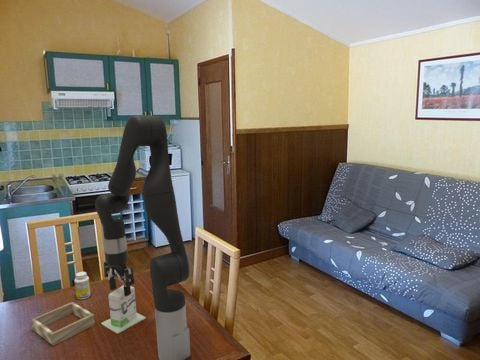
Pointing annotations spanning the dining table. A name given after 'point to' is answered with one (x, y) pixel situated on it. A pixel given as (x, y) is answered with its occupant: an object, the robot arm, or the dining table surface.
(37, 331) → the frame
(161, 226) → the robot arm
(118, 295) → the ink box
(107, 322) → the sage mat
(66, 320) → the dining table surface
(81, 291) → the supplement bottle
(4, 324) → the dining table surface
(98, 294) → the dining table surface
